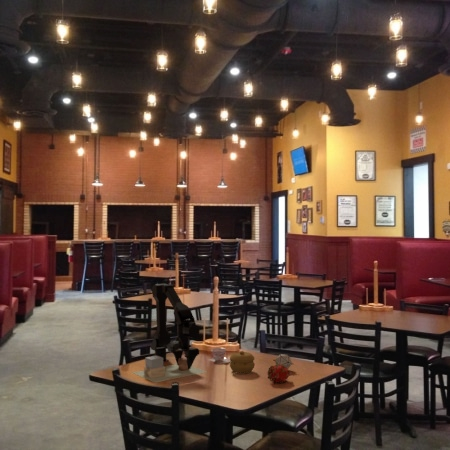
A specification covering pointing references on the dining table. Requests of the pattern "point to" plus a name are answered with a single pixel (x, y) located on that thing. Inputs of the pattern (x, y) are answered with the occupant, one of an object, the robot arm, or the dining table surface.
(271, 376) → the dragon fruit
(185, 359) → the terracotta cylinder
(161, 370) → the tower base
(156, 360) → the tower top
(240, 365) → the pot
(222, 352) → the teacup
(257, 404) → the dining table surface
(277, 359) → the game die
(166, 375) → the felt mat
